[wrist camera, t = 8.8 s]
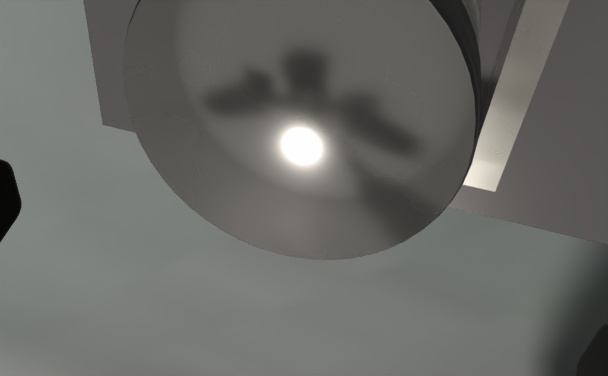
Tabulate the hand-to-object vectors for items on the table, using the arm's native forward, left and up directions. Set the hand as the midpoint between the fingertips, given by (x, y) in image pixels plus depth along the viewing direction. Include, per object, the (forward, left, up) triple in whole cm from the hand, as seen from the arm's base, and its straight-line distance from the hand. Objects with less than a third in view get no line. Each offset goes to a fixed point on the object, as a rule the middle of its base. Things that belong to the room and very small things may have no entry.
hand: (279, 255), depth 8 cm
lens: (0, -2, -8) cm, 8 cm away
